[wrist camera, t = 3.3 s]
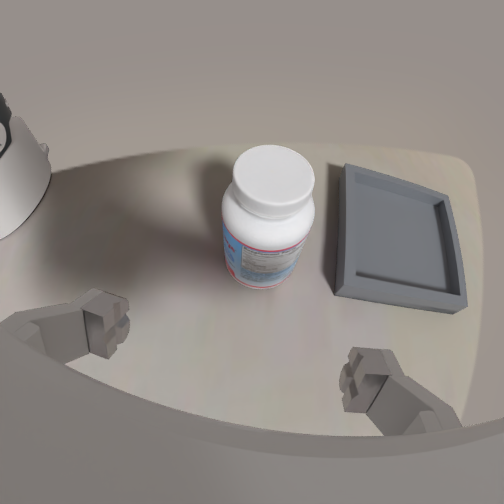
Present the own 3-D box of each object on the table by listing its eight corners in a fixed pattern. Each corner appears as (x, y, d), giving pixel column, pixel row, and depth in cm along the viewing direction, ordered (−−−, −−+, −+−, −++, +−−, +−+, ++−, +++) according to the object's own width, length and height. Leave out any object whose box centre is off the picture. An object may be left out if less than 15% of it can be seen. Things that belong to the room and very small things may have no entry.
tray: (334, 295, 24) (343, 284, 22) (339, 178, 30) (345, 163, 28) (453, 314, 23) (467, 306, 21) (438, 207, 30) (448, 195, 27)
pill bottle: (229, 227, 26) (227, 132, 17) (294, 234, 26) (323, 143, 16) (220, 288, 24) (209, 208, 14) (292, 295, 24) (331, 221, 14)
